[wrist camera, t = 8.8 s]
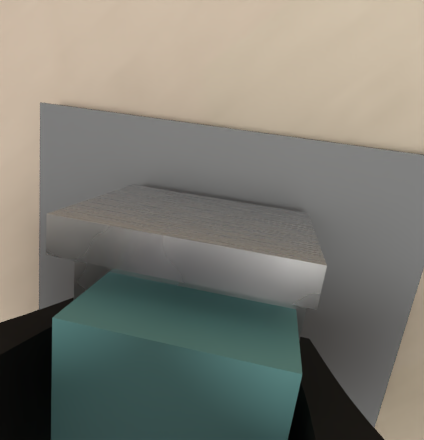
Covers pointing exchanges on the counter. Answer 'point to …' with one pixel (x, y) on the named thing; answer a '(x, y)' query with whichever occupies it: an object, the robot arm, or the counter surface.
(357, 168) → the stand
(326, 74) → the counter surface
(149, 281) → the cover
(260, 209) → the housing base
